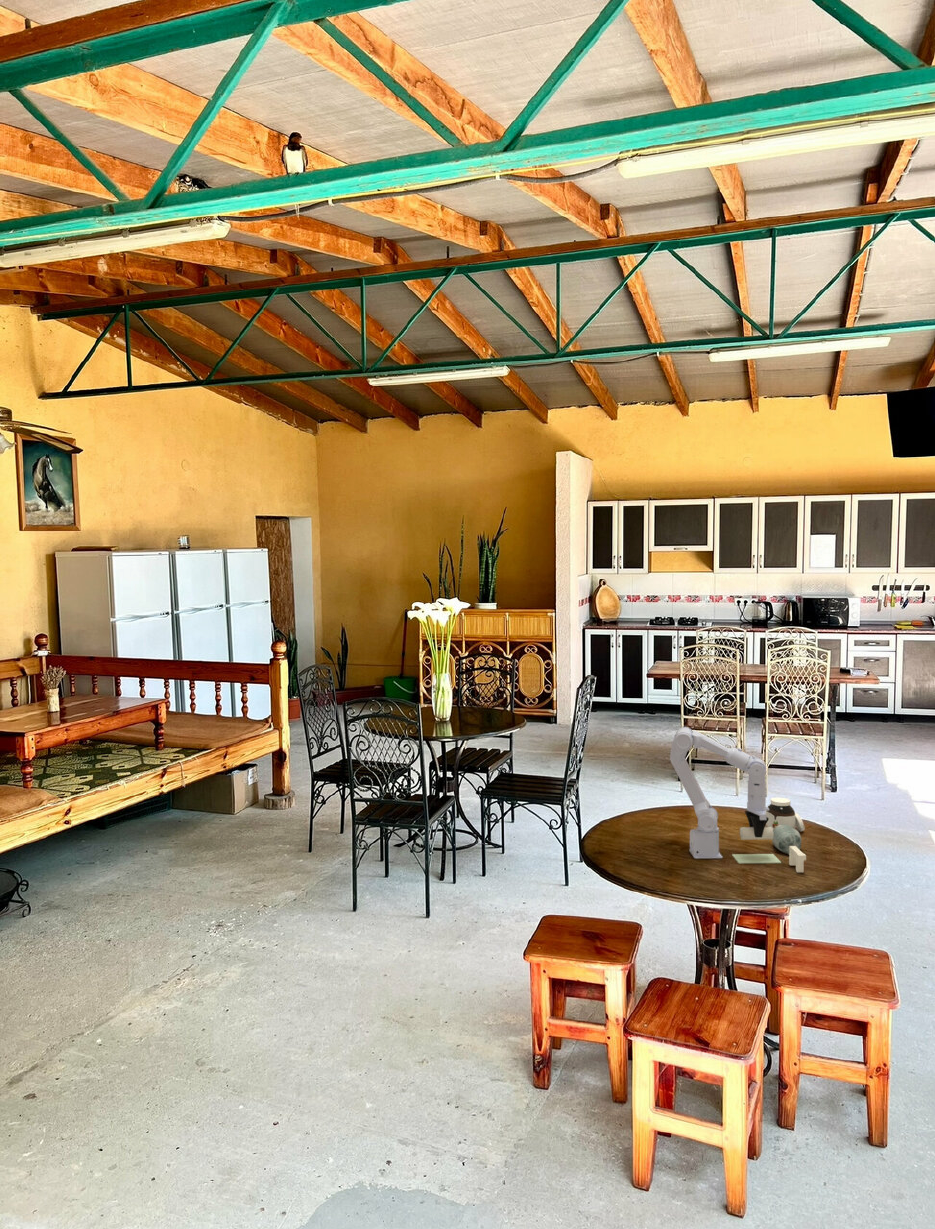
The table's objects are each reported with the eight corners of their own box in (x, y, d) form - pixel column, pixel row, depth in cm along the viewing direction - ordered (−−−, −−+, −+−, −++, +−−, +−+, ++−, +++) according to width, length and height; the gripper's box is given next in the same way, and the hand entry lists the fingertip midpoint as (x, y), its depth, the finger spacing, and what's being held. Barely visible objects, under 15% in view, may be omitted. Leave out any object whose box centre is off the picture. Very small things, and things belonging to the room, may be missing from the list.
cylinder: (743, 841, 290) (743, 829, 289) (739, 837, 293) (739, 825, 293) (773, 840, 289) (773, 829, 289) (769, 837, 293) (769, 825, 293)
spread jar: (762, 828, 324) (762, 798, 323) (783, 824, 329) (784, 793, 328) (787, 837, 313) (788, 806, 312) (809, 832, 318) (810, 801, 317)
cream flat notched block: (798, 874, 277) (798, 855, 276) (788, 864, 286) (788, 846, 285) (805, 874, 277) (806, 855, 276) (795, 864, 286) (796, 846, 285)
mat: (738, 863, 288) (738, 862, 288) (731, 855, 296) (731, 854, 296) (781, 863, 288) (781, 862, 288) (773, 854, 296) (773, 853, 296)
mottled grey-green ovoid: (809, 849, 291) (794, 821, 294) (783, 861, 293) (768, 833, 295) (804, 845, 304) (790, 819, 307) (779, 857, 306) (765, 830, 308)
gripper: (775, 801, 283) (775, 841, 284) (761, 789, 297) (761, 827, 298) (754, 801, 283) (753, 842, 284) (741, 789, 298) (740, 828, 299)
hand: (756, 834), depth 291 cm, fingers closed on cylinder, 4 cm apart
